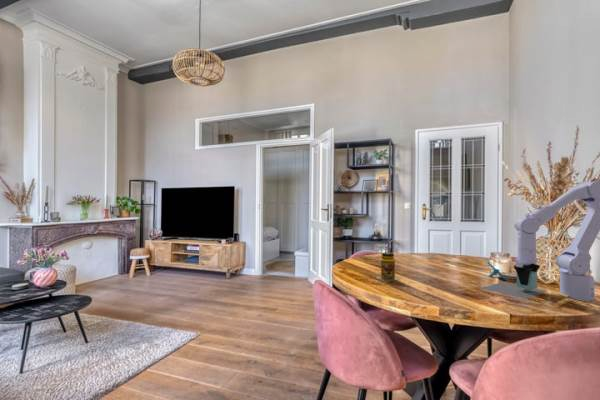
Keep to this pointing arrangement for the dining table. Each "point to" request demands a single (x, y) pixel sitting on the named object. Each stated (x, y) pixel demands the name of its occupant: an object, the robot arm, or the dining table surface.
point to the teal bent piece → (495, 271)
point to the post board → (513, 290)
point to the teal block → (531, 283)
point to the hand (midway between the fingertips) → (527, 283)
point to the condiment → (387, 267)
